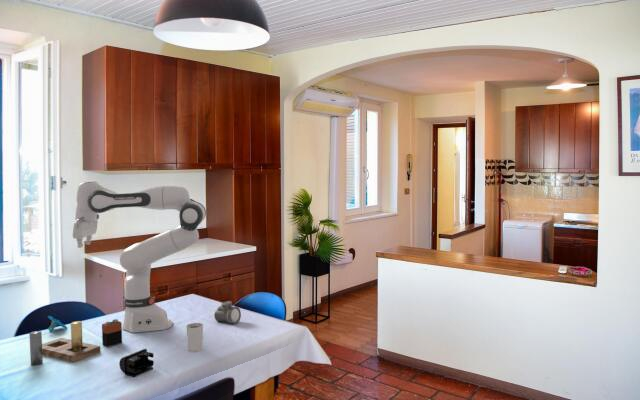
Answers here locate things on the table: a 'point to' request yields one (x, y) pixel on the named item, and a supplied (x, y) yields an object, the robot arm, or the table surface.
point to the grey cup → (195, 336)
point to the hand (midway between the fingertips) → (84, 246)
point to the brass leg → (76, 336)
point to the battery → (112, 333)
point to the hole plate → (68, 350)
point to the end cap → (136, 363)
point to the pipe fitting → (228, 313)
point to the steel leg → (36, 348)
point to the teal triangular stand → (55, 323)
